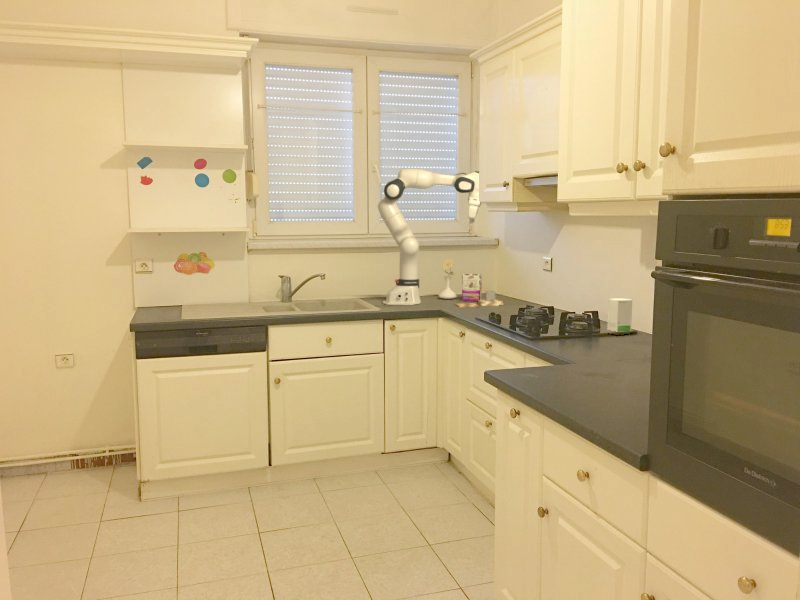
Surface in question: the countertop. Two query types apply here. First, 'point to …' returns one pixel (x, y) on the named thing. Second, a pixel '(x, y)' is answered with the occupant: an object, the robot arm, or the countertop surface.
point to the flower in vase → (448, 281)
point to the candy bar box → (471, 287)
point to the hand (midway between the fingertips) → (471, 223)
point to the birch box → (490, 303)
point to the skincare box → (619, 314)
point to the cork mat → (467, 305)
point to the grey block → (490, 296)
